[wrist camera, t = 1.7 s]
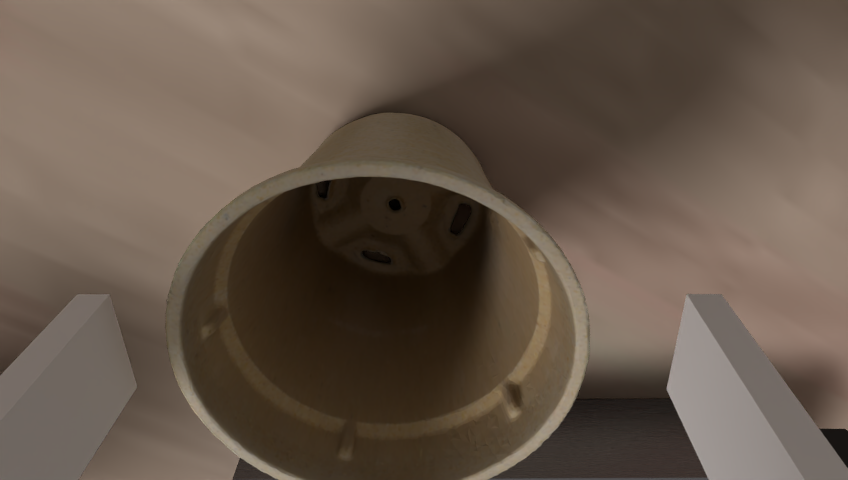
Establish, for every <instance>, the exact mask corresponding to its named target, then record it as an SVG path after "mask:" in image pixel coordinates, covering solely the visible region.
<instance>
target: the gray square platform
mask: <svg viewBox="0 0 848 480" xmlns="http://www.w3.org/2000/svg"><path fill="white" fill-rule="evenodd" d="M233 480H278V479H275V478H273V477H272V476H270V475H268V474H267V473H264V472H262V471H260V470H258V469H257V468H256V467H254V466H252V465H251V464H249V463H247V462H246V461H245V460H244V459H241V458H240V459H239V462H238V465H237V468H236V471H235V474H234V477H233ZM488 480H709V479H708V477H707V475H706V473H705V471H704V468H703V466H702V464H701V462H700V460H699V458H698V456H697V453H696V451H695V449H694V447H693V445H692V443H691V441H690V439H689V436H688V434H687V432H686V430H685V428H684V426H683V424H682V421H681V419H680V417H679V415H678V413H677V411H676V409H675V406H674V404H673V402H672V400H671V399H591V400H575V401H574V403H573V405H572V407H571V409H570V411H569V412H568V413H567V415H566V416H565V418H564V419H563V421H562V422H561V424H560V425H559V427H558V428H557V429H556V430H555V431H554V432H553V433H552V434H551V435H550V437H549V438H548V439H546V440H545V441H544V442H543V443H542V445H541V446H540V447H539V448H537V449H536V450H535V451H534V452H532V453H531V454H530V455H529V456H528V457H526V458H525V459H523V460H522V461H520V462H518V463H517V464H516V465H514V466H512V467H511V468H509V469H508V470H506V471H503V472H501V473H500V474H499V475H497V476H494V477H492V478H490V479H488Z"/></svg>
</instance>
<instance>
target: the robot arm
mask: <svg viewBox="0 0 848 480" xmlns="http://www.w3.org/2000/svg"><path fill="white" fill-rule="evenodd" d="M136 388H137V384H136V381H135V377H134V374H133V370H132V367H131V364H130V360H129V357H128V354H127V350H126V347H125V344H124V340H123V337H122V333H121V330H120V327H119V323H118V320H117V317H116V313H115V310H114V307H113V303H112V300H111V297H110V294H77V295H76V296H75V297H74V298H73V299H72V300H71V301H70V302H69V303H68V304H67V305H66V306H65V308H64V309H63V310H62V311H61V312H60V313H59V314H58V315H57V316H56V317H55V318H54V319H53V320H52V321H51V322H50V323H49V324H48V325H47V327H46V328H45V329H44V330H43V331H42V332H41V333H40V334H39V335H38V336H37V337H36V338H35V339H34V340H33V341H32V342H31V343H30V345H29V346H28V347H27V348H26V349H25V350H24V351H23V352H22V353H21V354H20V355H19V356H18V357H17V358H16V359H15V360H14V361H13V362H12V364H11V365H10V366H9V367H8V368H7V369H6V370H5V371H4V372H3V373H2V374H1V375H0V480H78V479H79V478H80V476H81V475H82V473H83V472H84V470H85V468H86V467H87V465H88V464H89V462H90V461H91V459H92V457H93V456H94V454H95V453H96V451H97V450H98V448H99V446H100V445H101V443H102V442H103V440H104V439H105V437H106V435H107V434H108V432H109V431H110V429H111V428H112V426H113V424H114V423H115V421H116V420H117V418H118V417H119V415H120V413H121V412H122V410H123V409H124V407H125V406H126V404H127V402H128V401H129V399H130V398H131V396H132V395H133V393H134V391H135V390H136ZM667 391H668V394H669V396H670V398H671V400H672V402H673V404H674V406H675V409H676V411H677V413H678V415H679V417H680V419H681V421H682V424H683V426H684V428H685V430H686V432H687V434H688V436H689V439H690V441H691V443H692V445H693V447H694V449H695V451H696V453H697V456H698V458H699V460H700V462H701V464H702V466H703V468H704V471H705V473H706V475H707V477H708V479H709V480H848V431H847V430H846V429H819V428H818V427H817V425H816V424H815V422H814V421H813V420H812V418H811V417H810V416H809V414H808V413H807V411H806V410H805V409H804V407H803V406H802V405H801V403H800V402H799V400H798V399H797V398H796V396H795V395H794V394H793V392H792V391H791V389H790V388H789V387H788V385H787V384H786V383H785V381H784V380H783V378H782V377H781V376H780V374H779V373H778V371H777V370H776V369H775V367H774V366H773V365H772V363H771V362H770V360H769V359H768V358H767V356H766V355H765V354H764V352H763V351H762V349H761V348H760V347H759V345H758V344H757V343H756V341H755V340H754V338H753V337H752V336H751V334H750V333H749V331H748V330H747V329H746V327H745V326H744V325H743V323H742V322H741V320H740V319H739V318H738V316H737V315H736V314H735V312H734V311H733V309H732V308H731V307H730V305H729V304H728V303H727V301H726V300H725V298H724V297H723V296H722V294H687V295H686V300H685V305H684V309H683V314H682V319H681V323H680V328H679V333H678V337H677V342H676V347H675V352H674V356H673V361H672V366H671V370H670V375H669V380H668V384H667Z"/></svg>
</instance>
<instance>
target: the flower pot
mask: <svg viewBox="0 0 848 480" xmlns="http://www.w3.org/2000/svg"><path fill="white" fill-rule="evenodd" d="M326 180H330V184H329V188H328V193H327V197H326V198H322V197H319V195H318V193H317V186H316V184H317V183H318V182H322V181H326ZM392 199H397V200H399V202H400V205H401V208H400V209H399V210H392V209H391V208H390V207H389V202H390V201H391V200H392ZM459 204H467V205H469V206H470V207H471V215H470V217H469V219H468V221H467V222H466V224H464V227H463V230H462V231H461V232H460V233H459V234H457V235H455V234H454V233H451V231H450V227H451V225H452V223H453V220H454V218H455V216H456V214H457V210H458V209H459V208H458V205H459ZM364 250H366V251H370V252H375V253H376V252H377V251H380V252H379V253H380V254H382V255H384V256H387V257H390V259H391V263H383V262H378V261H374V260H370V259H368V258H366V257H365V256H364V255H363V254H362V251H364ZM165 328H166V341H167V349H168V353H169V358H170V362H171V365H172V369H173V372H174V375H175V377H176V380H177V382H178V385H179V387H180V388H181V391H182V393H183V394H184V396H185V397H186V399H187V402H188V403H189V404H190V407H191V408H192V409H193V411H194V412H195V414H196V415H197V416H198V417H199V418H200V420H201V421H202V422H203V423H204V425H205V426H206V427H207V428H208V430H210V431H211V433H212V434H213V435H214V436H215V437H217V438H218V439H219V440H220V441H221V442H222V443H223V444H224V445H225V446H226V447H227V448H229V449H230V450H231V451H232V452H233V453H235V454H236V455H237V456H238V457H240V458H241V459H244V460H245V461H246V462H247V463H249V464H251V465H252V466H254V467H256V468H257V469H258V470H260V471H262V472H264V473H267V474H268V475H270V476H272V477H273V478H275V479H278V480H488V479H490V478H492V477H494V476H497V475H499V474H500V473H501V472H503V471H506V470H508V469H509V468H511V467H512V466H514V465H516V464H517V463H518V462H520V461H522V460H523V459H525V458H526V457H528V456H529V455H530V454H531V453H532V452H534V451H535V450H536V449H537V448H539V447H540V446H541V445H542V443H543V442H544V441H545V440H546V439H548V438H549V437H550V435H551V434H552V433H553V432H554V431H555V430H556V429H557V428H558V427H559V425H560V424H561V422H562V421H563V419H564V418H565V416H566V415H567V413H568V412H569V411H570V409H571V407H572V405H573V403H574V401H575V399H576V397H577V394H578V391H579V389H580V388H581V384H582V382H583V379H584V377H585V372H586V367H587V363H588V359H589V349H590V329H589V315H588V310H587V305H586V303H585V297H584V293H583V291H582V288H581V286H580V283H579V281H578V279H577V277H576V274H575V272H574V270H573V268H572V267H571V265H570V263H569V261H568V260H567V258H566V256H565V255H564V253H563V252H562V250H561V249H560V247H559V246H558V245H557V244H556V242H555V241H554V240H553V238H552V237H551V236H550V235H549V234H548V233H547V232H546V231H545V230H544V229H543V228H542V227H541V226H540V225H539V224H538V223H537V222H536V221H535V220H534V219H533V218H532V217H531V216H530V215H529V214H528V213H527V212H525V211H524V210H523V209H522V208H521V207H519V206H518V205H516V204H515V203H514V202H512V201H511V200H509V199H508V198H506V197H505V196H504V195H502V194H501V193H499V192H497V191H495V190H493V188H492V186H491V185H490V183H489V181H488V180H487V178H486V176H485V174H484V172H483V169H482V167H481V165H480V163H479V161H478V160H477V158H476V157H475V155H474V154H473V153H472V151H471V150H470V149H469V147H468V146H467V145H466V144H465V143H464V142H463V141H462V140H461V139H460V138H459V137H458V136H457V135H456V134H454V133H453V132H452V131H450V130H449V129H447V128H446V127H444V126H442V125H441V124H439V123H437V122H435V121H432V120H430V119H427V118H424V117H421V116H417V115H412V114H405V113H379V114H373V115H370V116H367V117H364V118H361V119H358V120H356V121H353V122H351V123H349V124H347V125H345V126H343V127H342V128H340V129H338V130H337V131H335V132H334V133H333V134H332V135H330V136H329V137H328V138H327V139H326V140H325V141H324V142H323V143H322V144H321V146H320V147H319V148H318V149H317V150H316V151H315V152H314V153H313V154H312V155H311V156H310V157H309V158H308V159H307V160H306V161H305V162H304V163H303V165H302V166H301V167H299V168H295V169H292V170H289V171H286V172H284V173H281V174H279V175H276V176H274V177H272V178H269V179H267V180H265V181H263V182H261V183H259V184H257V185H255V186H253V187H252V188H250V189H249V190H247V191H246V192H244V193H242V194H241V195H239V196H238V197H237V198H235V199H234V200H233V201H231V202H230V203H229V204H228V205H226V206H225V207H224V208H223V209H221V210H220V211H219V212H218V213H217V214H216V215H215V216H214V217H213V218H212V219H211V220H210V221H209V222H208V223H206V225H205V226H204V227H203V228H202V229H201V230H200V232H199V233H198V234H197V235H196V237H195V238H194V239H193V241H192V242H191V244H190V245H189V247H188V248H187V250H186V252H185V253H184V255H183V257H182V259H181V260H180V262H179V264H178V267H177V269H176V271H175V274H174V278H173V281H172V284H171V288H170V291H169V294H168V299H167V309H166V324H165Z"/></svg>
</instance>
